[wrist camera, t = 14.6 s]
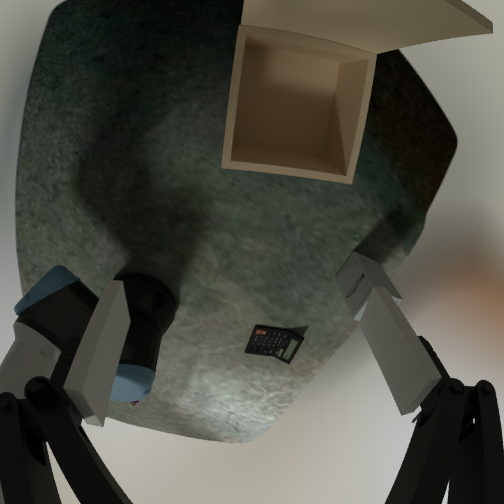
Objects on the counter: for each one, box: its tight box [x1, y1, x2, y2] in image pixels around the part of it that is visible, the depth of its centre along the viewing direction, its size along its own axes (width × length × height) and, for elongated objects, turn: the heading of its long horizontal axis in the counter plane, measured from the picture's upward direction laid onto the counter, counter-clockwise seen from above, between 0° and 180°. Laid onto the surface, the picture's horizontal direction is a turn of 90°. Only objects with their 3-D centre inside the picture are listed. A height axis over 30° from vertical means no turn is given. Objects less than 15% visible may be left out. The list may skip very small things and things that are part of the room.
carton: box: [221, 25, 377, 184], centre depth 37 cm, size 17×18×12 cm
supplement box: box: [335, 251, 402, 321], centre depth 54 cm, size 7×7×13 cm
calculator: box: [245, 325, 304, 364], centre depth 68 cm, size 9×12×3 cm
